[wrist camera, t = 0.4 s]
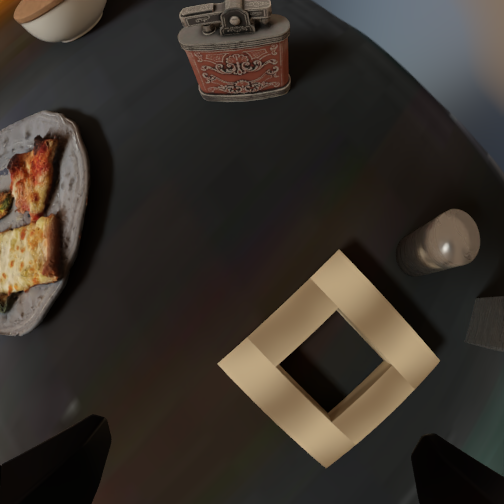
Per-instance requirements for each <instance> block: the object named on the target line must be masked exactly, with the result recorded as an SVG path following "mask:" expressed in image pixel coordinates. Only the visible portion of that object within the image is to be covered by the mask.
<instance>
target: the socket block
mask: <svg viewBox="0 0 504 504" xmlns="http://www.w3.org/2000/svg"><path fill="white" fill-rule="evenodd" d="M336 310H337V311H338V312H339V313H340V314H341V315H342V316H343V317H344V318H345V320H346V321H347V322H348V323H349V324H350V325H351V326H352V327H353V328H354V329H355V330H356V331H357V332H358V333H359V334H360V335H361V337H362V338H363V339H364V340H365V341H366V342H367V343H368V344H369V345H370V346H371V347H372V348H373V349H374V350H375V351H376V353H377V354H378V355H379V356H380V357H381V358H382V359H383V360H384V361H383V362H382V363H381V364H380V365H379V366H378V367H377V368H376V369H375V370H374V371H373V372H372V373H371V374H370V375H369V376H368V377H367V378H366V379H365V380H364V381H363V382H362V383H361V384H360V385H359V386H357V387H356V388H355V389H354V390H353V391H352V392H351V393H350V394H349V395H348V396H347V397H346V398H344V399H343V400H342V401H341V402H340V403H339V404H338V405H337V406H335V407H334V408H333V409H332V410H331V411H330V412H329V413H327V412H326V411H325V410H324V409H323V408H322V407H321V406H320V405H319V404H318V403H317V402H316V401H315V400H314V399H313V398H312V397H311V396H310V395H309V394H308V393H307V392H306V391H305V390H304V389H303V388H302V387H301V386H300V385H299V384H298V383H297V382H296V381H295V380H294V379H293V378H292V377H291V376H290V375H289V374H288V373H287V372H286V371H285V370H284V369H283V368H282V367H281V366H280V365H279V364H280V363H281V362H282V361H283V360H284V359H285V358H286V357H287V356H288V355H290V354H291V353H292V352H293V351H294V350H295V349H296V348H297V347H298V346H299V345H300V344H301V343H303V342H304V341H305V340H306V339H307V338H308V337H309V336H310V335H311V334H312V333H313V332H314V331H315V330H316V329H317V328H318V327H319V326H321V325H322V324H323V323H324V322H325V321H326V320H327V319H328V318H329V317H330V316H331V315H332V314H333V313H334V312H335V311H336ZM439 362H440V360H439V359H438V358H437V357H436V355H435V354H434V353H433V352H432V351H431V349H430V348H429V347H428V346H427V345H426V344H425V342H424V341H423V340H422V339H421V338H420V337H419V335H418V334H417V333H416V332H415V331H414V330H413V329H412V327H411V326H410V325H409V324H408V323H407V322H406V321H405V320H404V318H403V317H402V316H401V315H400V314H399V313H398V312H397V311H396V310H395V308H394V307H393V306H392V305H391V304H390V303H389V302H388V301H387V300H386V298H385V297H384V296H383V295H382V294H381V293H380V292H379V291H378V290H377V289H376V288H375V287H374V285H373V284H372V283H371V282H370V281H369V280H368V279H367V278H366V277H365V276H364V275H363V274H362V273H361V272H360V271H359V270H358V269H357V267H356V266H355V265H354V264H353V263H352V262H351V261H350V260H349V259H348V258H347V257H346V256H345V255H344V254H343V253H342V252H341V251H340V250H338V251H337V252H336V253H335V254H334V255H333V256H332V257H331V258H330V259H329V260H328V261H327V262H326V263H325V264H324V265H323V266H322V267H321V268H320V269H319V270H318V271H317V272H316V273H315V274H314V275H313V276H312V277H311V278H310V279H309V280H308V281H307V282H306V283H305V284H304V285H302V286H301V287H300V288H299V289H298V290H297V291H296V292H295V293H294V294H293V295H292V296H291V297H290V298H289V299H288V300H287V301H286V302H285V303H284V304H283V305H282V306H280V307H279V308H278V309H277V310H276V311H275V312H274V313H273V314H272V315H271V316H270V317H269V318H268V319H267V320H266V321H264V322H263V323H262V324H261V325H260V326H259V327H258V328H257V329H256V330H255V331H254V332H252V333H251V334H250V335H249V336H248V337H247V338H246V339H245V340H244V341H243V342H241V343H240V344H239V345H238V346H237V347H236V348H235V349H234V350H233V351H231V352H230V353H229V354H228V355H227V356H226V357H225V358H224V359H222V360H221V361H220V362H219V363H218V365H219V366H220V367H221V368H222V369H223V370H224V371H225V372H226V373H227V375H228V376H229V377H230V378H231V379H232V380H233V381H234V382H235V383H236V384H237V385H238V386H239V387H240V388H241V389H242V390H243V391H244V392H245V393H246V394H247V395H248V396H249V397H250V398H251V399H252V400H253V401H254V402H255V403H256V404H257V405H258V406H259V407H260V408H261V409H262V410H263V411H264V412H265V413H266V414H267V415H268V416H269V417H270V418H271V419H272V420H273V421H274V422H275V423H276V424H277V425H278V426H280V427H281V428H282V429H283V430H284V431H285V432H286V433H287V434H288V435H289V436H290V437H291V438H292V439H293V440H295V441H296V442H297V443H298V444H299V445H300V446H301V447H302V448H303V449H305V450H306V451H307V452H308V453H309V454H310V455H311V456H312V457H314V458H315V459H316V460H317V461H318V462H319V463H321V464H322V465H323V466H324V467H325V468H327V467H328V466H330V465H331V464H332V463H334V462H335V461H336V460H337V459H339V458H340V457H341V456H342V455H344V454H345V453H346V452H347V451H349V450H350V449H351V448H352V447H354V446H355V445H356V444H357V443H358V442H359V441H361V440H362V439H363V438H364V437H365V436H366V435H368V434H369V433H370V432H371V431H372V430H373V429H374V428H375V427H377V426H378V425H379V424H380V423H381V422H382V421H383V420H384V419H385V418H386V417H387V416H388V415H390V414H391V413H392V412H393V411H394V410H395V409H396V408H397V407H398V406H399V405H400V404H401V403H402V402H403V401H404V400H405V399H406V398H407V397H408V396H409V395H410V394H411V393H412V392H413V391H414V389H415V388H416V387H417V386H418V385H419V384H420V383H421V382H422V381H423V380H424V379H425V378H426V377H427V375H428V374H429V373H430V372H431V371H432V370H433V369H434V368H435V366H436V365H437V364H438V363H439Z"/></svg>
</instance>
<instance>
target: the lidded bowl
mask: <svg viewBox="0 0 504 504" xmlns="http://www.w3.org/2000/svg"><path fill="white" fill-rule="evenodd" d="M106 2H107V0H22V1H21V2H20V4H19V5H18V7H17V8H16V10H15V13H14V19H15V20H16V21H17V22H18V23H20V24H21V25H22V26H23V27H24V28H25V29H26V30H27V31H28V32H29V33H31V34H32V35H33V36H35V37H36V38H38V39H40V40H43V41H46V42H64V43H67V42H71V41H74V40H76V39H78V38H80V37H81V36H83V35H85V34H86V33H87V32H89V31H90V30H91V29H92V28H93V27H94V26H95V25H96V24H97V23H98V22H99V21H100V19H101V18H102V15H103V10H104V8H105V5H106Z"/></svg>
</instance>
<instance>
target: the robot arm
mask: <svg viewBox="0 0 504 504" xmlns="http://www.w3.org/2000/svg"><path fill="white" fill-rule="evenodd" d="M110 445H111V434H110V430H109V426H108V422H107V419H106V418H104V417H102V416H98V415H94V414H93V415H90V416H88V417H87V418H85V419H83V420H81V421H80V422H78V423H76V424H75V425H73V426H71V427H69V428H68V429H66V430H64V431H62V432H60V433H59V434H57V435H55V436H53V437H52V438H50V439H48V440H46V441H44V442H43V443H41V444H39V445H37V446H35V447H33V448H32V449H30V450H28V451H26V452H24V453H22V454H20V455H18V456H17V457H15V458H13V459H11V460H9V461H7V462H5V463H3V464H2V466H1V465H0V504H92V501H93V499H94V496H95V494H96V492H97V489H98V487H99V484H100V480H101V477H102V473H103V470H104V466H105V462H106V459H107V455H108V452H109V449H110ZM411 461H412V466H413V471H414V477H415V482H416V488H417V494H418V499H419V503H420V504H504V477H503V476H501V475H500V474H498V473H496V472H495V471H493V470H491V469H490V468H488V467H487V466H485V465H483V464H482V463H480V462H479V461H477V460H475V459H474V458H472V457H471V456H469V455H467V454H466V453H464V452H463V451H461V450H460V449H458V448H457V447H455V446H453V445H452V444H450V443H449V442H447V441H446V440H444V439H443V438H441V437H440V436H438V435H437V434H427V435H423V436H422V437H421V438H420V440H419V442H418V443H417V445H416V447H415V449H414V450H413V452H412V456H411Z"/></svg>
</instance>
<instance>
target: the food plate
mask: <svg viewBox="0 0 504 504" xmlns="http://www.w3.org/2000/svg"><path fill="white" fill-rule="evenodd" d="M66 118H67V117H66V116H65V115H63V114H61V113H57V112H53V111H41V112H37V113H35V114H34V115H30V116H29V117H26V118H24V119H23V120H20V121H17V122H15V123H13V124H11V125H10V126H7V127H6V128H5V129H2V131H0V167H1V168H2V169H1V168H0V171H1V170H3V169H4V168H5V167H6V168H7V169H8V170H9V172H8V174H9V175H6V176H3V175H1V176H0V182H1V183H0V334H2V335H5V334H7V335H10V336H12V335H13V336H16V334H19V337H20V336H22V335H24V334H28V333H30V332H32V331H33V330H34V329H35V328H37V327H38V325H39V324H40V323H41V322H42V321H43V319H44V318H45V317H46V314H47V313H48V312H49V310H50V308H51V307H52V305H53V303H54V302H55V300H56V299H57V298H58V297H59V295H60V293H61V292H62V290H63V289H64V288H65V285H66V283H67V282H68V281H67V279H68V277H69V274H70V272H69V271H70V270H71V268H72V266H73V264H74V262H75V261H74V260H75V259H76V257H77V256H78V255H77V254H78V249H79V247H80V239H81V238H80V237H81V236H80V235H81V232H82V230H83V223H84V217H85V209H86V206H87V199H88V193H89V188H90V184H91V180H90V178H91V176H90V174H91V173H90V159H89V156H88V152H87V149H86V146H85V145H84V142H83V140H82V136H81V133H80V127H79V126H78V124H77V123H76V122H75V121H74V120H72V119H71V118H69V119H68V118H67V119H66ZM25 152H26V153H25ZM10 158H11V159H10ZM9 159H10V160H9ZM6 163H7V164H6ZM5 164H6V166H5V167H3V166H4V165H5ZM4 174H5V173H4ZM28 213H29V214H30V216H31V217H30V218H28V216H27V215H28Z"/></svg>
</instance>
